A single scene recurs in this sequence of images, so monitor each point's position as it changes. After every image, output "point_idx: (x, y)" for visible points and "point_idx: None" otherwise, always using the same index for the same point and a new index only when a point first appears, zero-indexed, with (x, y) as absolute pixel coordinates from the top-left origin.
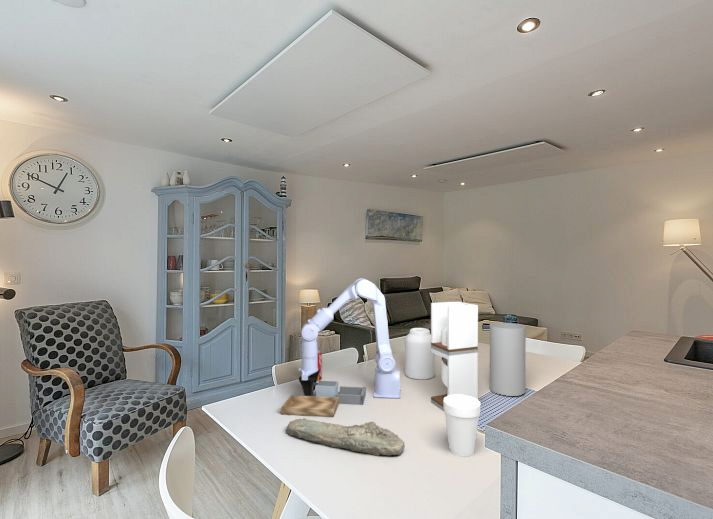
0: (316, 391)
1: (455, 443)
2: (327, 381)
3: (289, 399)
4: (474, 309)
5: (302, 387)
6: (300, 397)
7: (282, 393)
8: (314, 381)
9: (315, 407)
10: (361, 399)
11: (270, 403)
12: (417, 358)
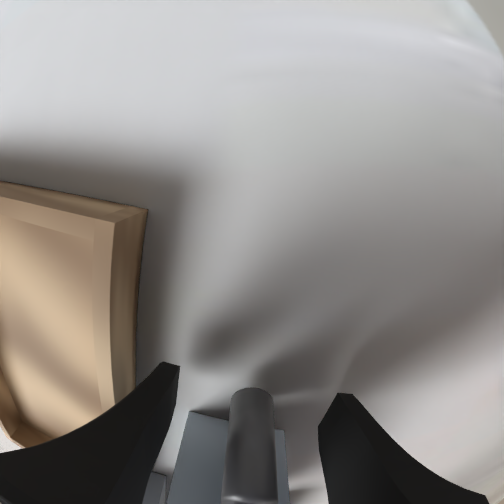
0: (176, 467)
1: None
2: None
3: (25, 220)
4: None
5: (96, 419)
6: (100, 330)
7: (406, 106)
8: (336, 496)
9: (58, 389)
10: None
11: (145, 20)
12: None
